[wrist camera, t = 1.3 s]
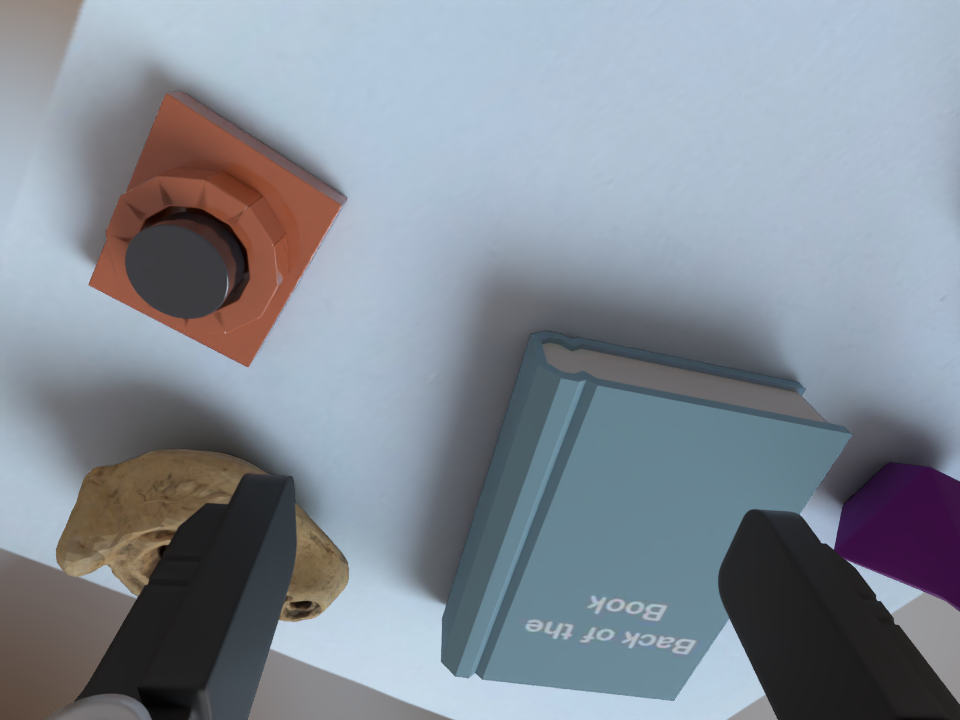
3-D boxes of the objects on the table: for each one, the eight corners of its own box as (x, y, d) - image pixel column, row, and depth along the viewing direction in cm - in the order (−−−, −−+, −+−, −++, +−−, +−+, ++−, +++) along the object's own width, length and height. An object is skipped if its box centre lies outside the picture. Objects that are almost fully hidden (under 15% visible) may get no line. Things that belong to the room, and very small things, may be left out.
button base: (181, 89, 24) (140, 95, 21) (348, 197, 26) (333, 217, 23) (104, 274, 28) (61, 301, 25) (257, 354, 30) (234, 388, 27)
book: (651, 634, 43) (673, 700, 38) (442, 607, 40) (440, 674, 36) (799, 382, 32) (853, 434, 28) (528, 327, 30) (541, 374, 26)
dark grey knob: (169, 192, 23) (144, 204, 21) (260, 246, 24) (244, 261, 22) (135, 269, 25) (109, 286, 23) (223, 316, 26) (205, 336, 24)
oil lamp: (340, 582, 39) (314, 699, 32) (107, 530, 36) (22, 646, 29) (386, 463, 34) (367, 570, 27) (121, 391, 31) (23, 491, 24)
